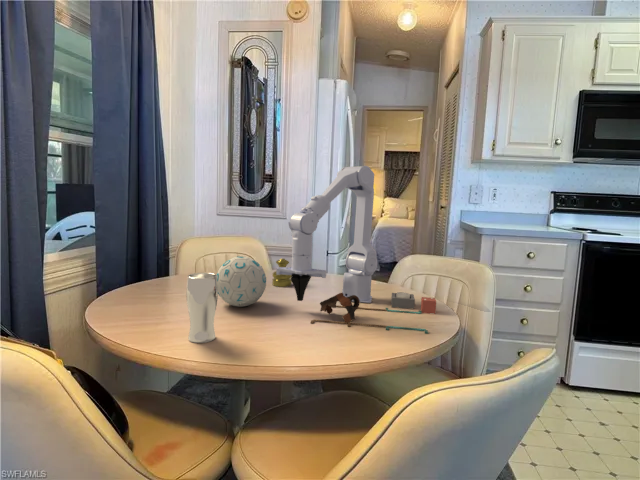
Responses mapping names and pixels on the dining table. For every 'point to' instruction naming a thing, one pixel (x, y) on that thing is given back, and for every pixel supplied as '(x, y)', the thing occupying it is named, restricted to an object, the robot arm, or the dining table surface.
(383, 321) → the dining table surface
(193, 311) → the beer glass
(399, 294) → the dome
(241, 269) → the puzzle ball
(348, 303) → the brown bent frame piece
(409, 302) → the box
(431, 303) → the die
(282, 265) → the gold chess piece
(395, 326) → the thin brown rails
